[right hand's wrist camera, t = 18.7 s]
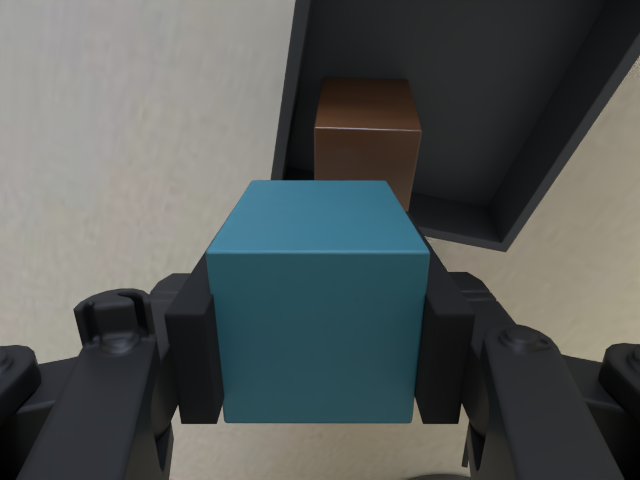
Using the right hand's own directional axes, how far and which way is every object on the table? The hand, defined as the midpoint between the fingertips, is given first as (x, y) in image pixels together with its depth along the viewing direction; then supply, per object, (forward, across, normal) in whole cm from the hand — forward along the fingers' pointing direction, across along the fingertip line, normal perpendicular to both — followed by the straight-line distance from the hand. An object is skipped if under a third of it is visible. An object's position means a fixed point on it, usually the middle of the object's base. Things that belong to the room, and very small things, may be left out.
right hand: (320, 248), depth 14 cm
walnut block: (+11, -2, -3) cm, 12 cm away
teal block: (0, 0, 0) cm, 0 cm away
